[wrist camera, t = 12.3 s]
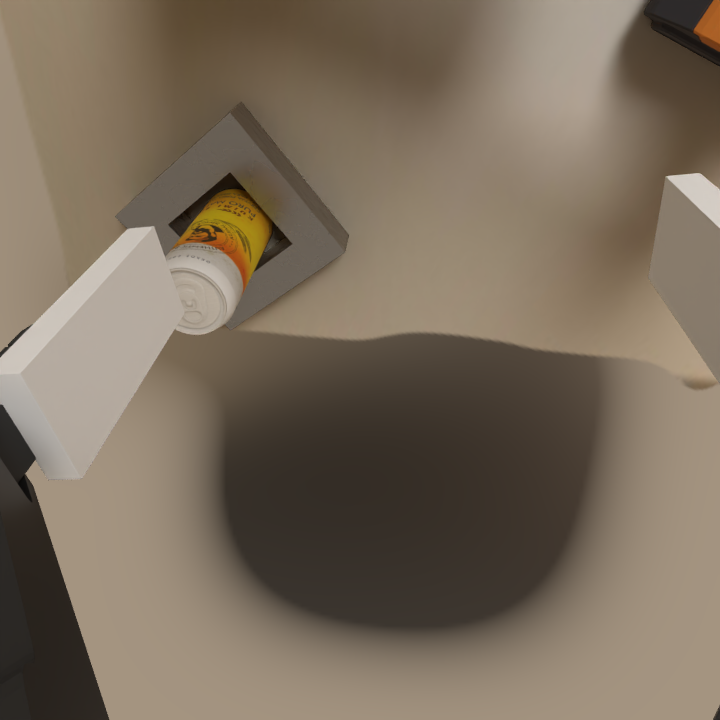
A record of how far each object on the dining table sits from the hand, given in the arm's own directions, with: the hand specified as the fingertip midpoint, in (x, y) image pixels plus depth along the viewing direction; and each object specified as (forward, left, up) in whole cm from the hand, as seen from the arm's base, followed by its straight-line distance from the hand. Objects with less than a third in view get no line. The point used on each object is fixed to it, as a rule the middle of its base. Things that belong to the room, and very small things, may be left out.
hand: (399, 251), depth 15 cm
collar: (+2, -20, -35) cm, 40 cm away
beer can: (+2, -20, -35) cm, 40 cm away
